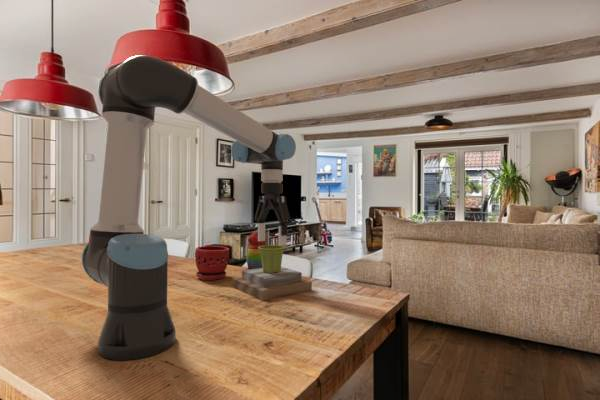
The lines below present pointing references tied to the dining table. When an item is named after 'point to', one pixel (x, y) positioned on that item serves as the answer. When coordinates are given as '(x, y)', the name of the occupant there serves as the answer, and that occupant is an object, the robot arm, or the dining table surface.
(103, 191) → the robot arm
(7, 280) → the dining table surface
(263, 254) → the plant pot
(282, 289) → the stepped square platform
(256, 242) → the stacking bear
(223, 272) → the plant pot
